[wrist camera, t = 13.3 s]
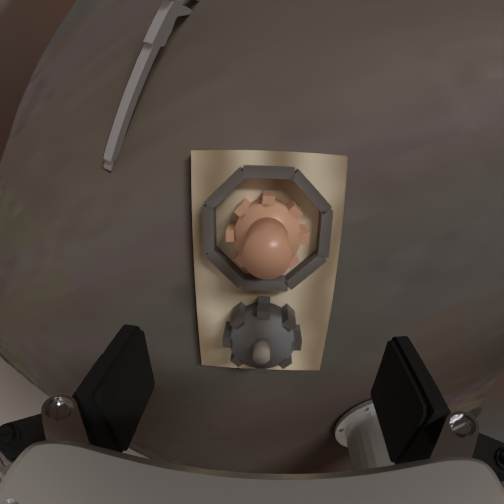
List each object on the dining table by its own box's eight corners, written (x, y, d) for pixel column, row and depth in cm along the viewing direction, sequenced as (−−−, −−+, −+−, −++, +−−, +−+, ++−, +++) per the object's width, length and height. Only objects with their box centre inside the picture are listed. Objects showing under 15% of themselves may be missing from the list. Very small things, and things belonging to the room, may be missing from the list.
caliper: (193, -4, 21) (176, -32, 16) (202, -2, 22) (187, -30, 16) (105, 167, 28) (71, 175, 22) (113, 171, 28) (80, 180, 22)
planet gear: (307, 192, 27) (321, 209, 20) (302, 263, 29) (311, 302, 22) (230, 189, 27) (216, 205, 20) (230, 261, 29) (218, 298, 22)
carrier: (344, 155, 26) (364, 159, 21) (318, 363, 35) (324, 399, 29) (194, 150, 27) (174, 152, 21) (203, 358, 35) (193, 394, 29)
